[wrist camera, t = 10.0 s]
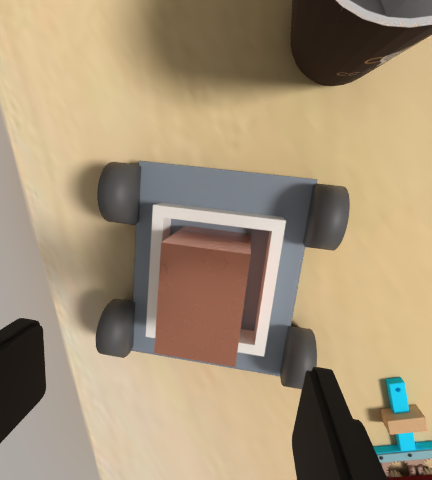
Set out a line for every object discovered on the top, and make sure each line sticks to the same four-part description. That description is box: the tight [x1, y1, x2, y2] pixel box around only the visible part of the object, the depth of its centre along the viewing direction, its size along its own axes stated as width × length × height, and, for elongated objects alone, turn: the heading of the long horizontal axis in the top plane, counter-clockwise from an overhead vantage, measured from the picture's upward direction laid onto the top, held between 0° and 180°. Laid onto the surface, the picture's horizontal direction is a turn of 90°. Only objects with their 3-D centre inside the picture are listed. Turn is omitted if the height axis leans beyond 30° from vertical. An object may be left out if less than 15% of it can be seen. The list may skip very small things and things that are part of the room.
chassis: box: [96, 161, 350, 389], centre depth 21 cm, size 16×16×4 cm
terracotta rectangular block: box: [154, 226, 251, 367], centre depth 19 cm, size 7×5×6 cm
